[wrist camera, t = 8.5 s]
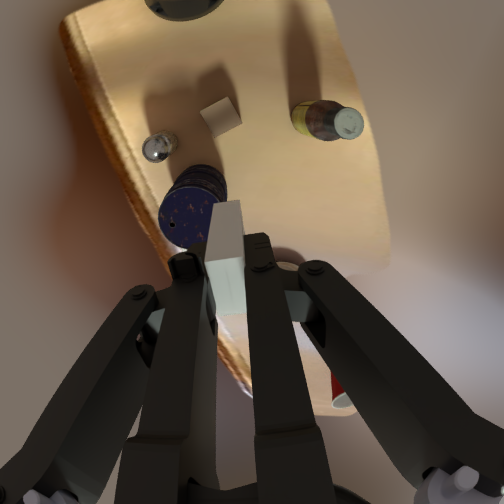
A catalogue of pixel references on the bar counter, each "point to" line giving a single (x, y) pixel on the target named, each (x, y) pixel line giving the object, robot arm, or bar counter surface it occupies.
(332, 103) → the sauce bottle
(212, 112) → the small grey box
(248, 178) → the bar counter surface
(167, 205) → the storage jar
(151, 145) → the metal shaker
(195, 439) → the robot arm
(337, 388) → the plastic cup
